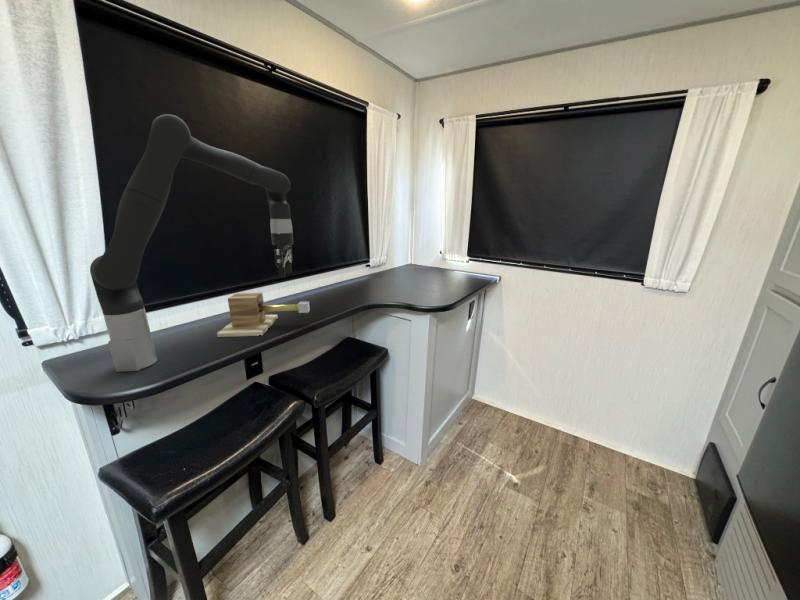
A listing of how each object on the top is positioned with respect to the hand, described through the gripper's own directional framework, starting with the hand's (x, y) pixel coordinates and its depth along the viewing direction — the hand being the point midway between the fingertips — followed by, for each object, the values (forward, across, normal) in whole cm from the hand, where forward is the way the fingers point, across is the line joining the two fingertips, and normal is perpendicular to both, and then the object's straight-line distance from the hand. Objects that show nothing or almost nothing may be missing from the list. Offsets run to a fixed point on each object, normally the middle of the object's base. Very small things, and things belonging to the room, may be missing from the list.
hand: (285, 275), depth 121 cm
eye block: (+21, -2, -16) cm, 27 cm away
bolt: (+15, -2, -4) cm, 16 cm away
